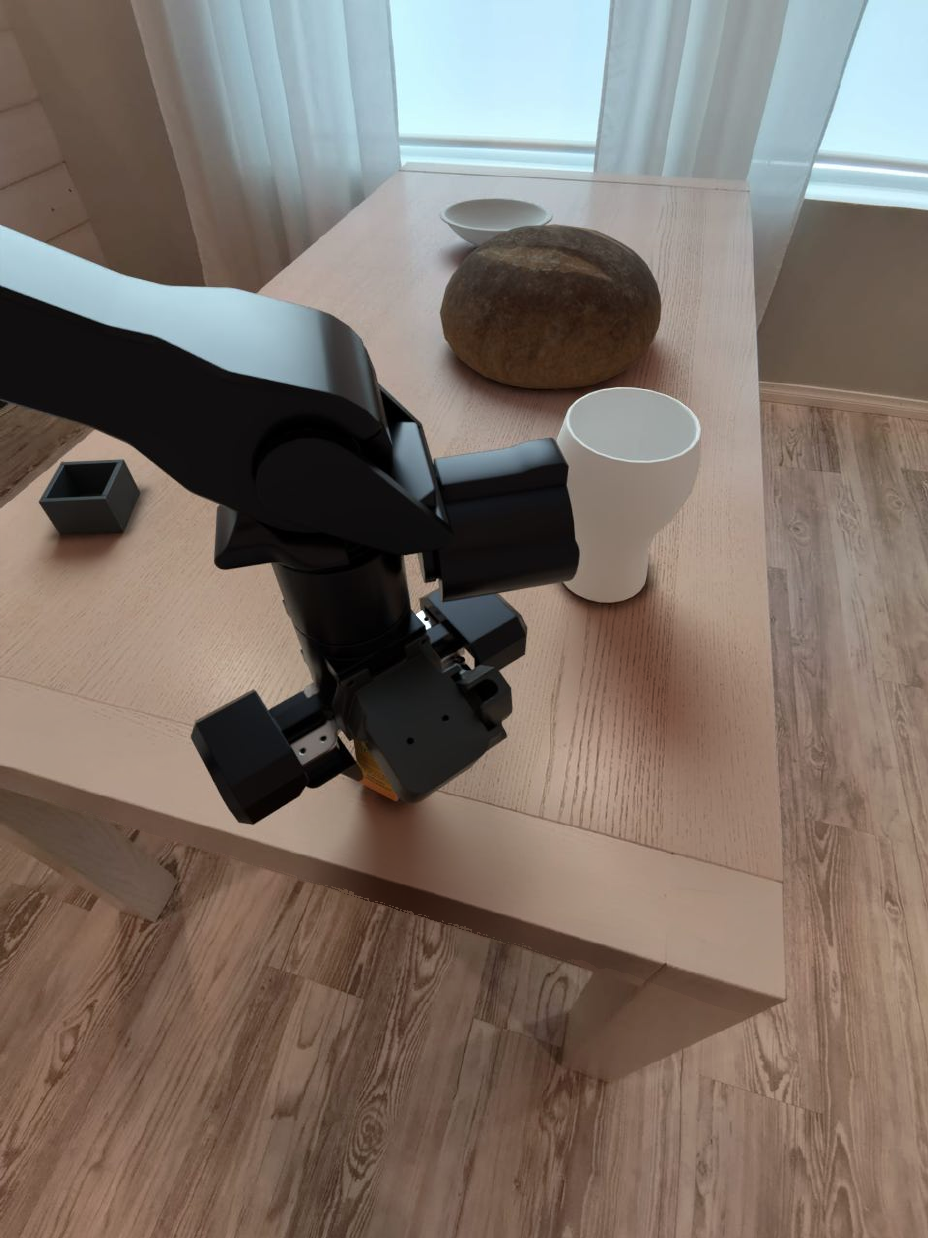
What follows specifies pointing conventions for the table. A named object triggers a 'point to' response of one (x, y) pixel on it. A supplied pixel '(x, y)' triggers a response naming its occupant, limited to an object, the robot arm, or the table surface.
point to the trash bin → (90, 497)
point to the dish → (492, 217)
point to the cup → (625, 482)
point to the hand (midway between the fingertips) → (387, 756)
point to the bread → (551, 307)
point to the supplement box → (372, 771)
